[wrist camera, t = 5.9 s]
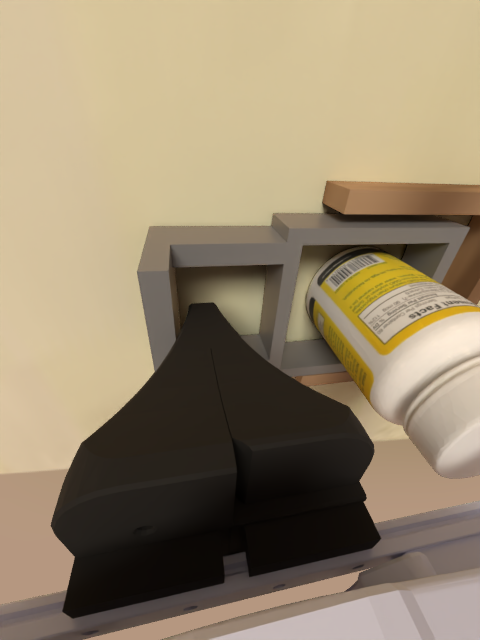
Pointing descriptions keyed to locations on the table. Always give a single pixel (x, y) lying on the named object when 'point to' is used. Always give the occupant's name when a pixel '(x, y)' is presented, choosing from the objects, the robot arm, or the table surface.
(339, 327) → the supplement bottle
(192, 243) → the gray divided frame
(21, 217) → the table surface
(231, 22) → the table surface
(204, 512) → the robot arm
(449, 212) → the housing
